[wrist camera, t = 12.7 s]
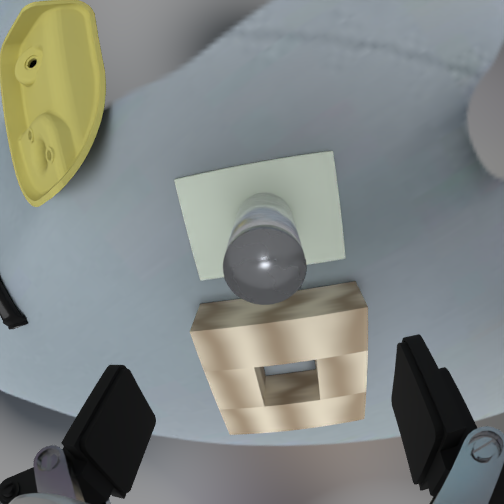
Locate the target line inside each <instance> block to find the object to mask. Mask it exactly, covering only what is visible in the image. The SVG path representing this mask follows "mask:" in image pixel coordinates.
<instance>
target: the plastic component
mask: <svg viewBox="0 0 504 504" xmlns="http://www.w3.org/2000/svg"><path fill="white" fill-rule="evenodd" d="M33 60H37V63H36V65H35V66H34V67H33V68H30V64H31V62H32V61H33ZM0 85H1V95H2V103H3V111H4V118H5V125H6V131H7V136H8V142H9V147H10V152H11V157H12V161H13V165H14V169H15V173H16V177H17V180H18V183H19V186H20V188H21V191H22V193H23V195H24V196H25V198H26V200H27V201H28V202H29V203H30V204H31V205H32V206H34V207H39V206H41V205H42V204H44V203H45V202H46V201H48V200H49V199H51V198H52V197H53V196H55V195H56V194H57V193H58V192H59V191H60V190H61V189H62V188H63V187H64V186H65V185H66V184H67V183H68V182H69V181H70V179H71V178H72V177H73V176H74V174H75V173H76V172H77V170H78V169H79V168H80V166H81V165H82V163H83V161H84V160H85V158H86V156H87V154H88V152H89V150H90V148H91V146H92V144H93V142H94V139H95V137H96V135H97V132H98V129H99V126H100V123H101V119H102V115H103V110H104V105H105V95H106V79H105V70H104V64H103V59H102V54H101V48H100V43H99V37H98V31H97V25H96V20H95V13H94V12H93V10H92V8H91V7H90V6H89V5H87V4H86V3H84V2H82V1H79V0H51V1H39V2H33V3H30V4H28V5H26V6H25V7H24V8H23V9H22V10H21V12H20V13H19V15H18V17H17V18H16V20H15V22H14V24H13V25H12V27H11V29H10V31H9V32H8V34H7V36H6V38H5V40H4V42H3V45H2V48H1V52H0Z"/></svg>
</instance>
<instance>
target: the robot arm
mask: <svg viewBox="0 0 504 504" xmlns="http://www.w3.org/2000/svg"><path fill="white" fill-rule="evenodd" d="M392 407H393V410H394V414H395V417H396V420H397V424H398V427H399V431H400V434H401V438H402V441H403V445H404V449H405V452H406V456H407V460H408V464H409V468H410V472H411V476H412V480H413V483H414V484H419V486H420V490H425V489H428V488H429V491H430V495H432V496H433V498H432V500H431V502H430V504H504V433H502V432H501V431H500V430H499V429H496V428H494V427H488V426H485V427H479V428H477V426H476V425H475V422H474V420H473V418H472V416H471V414H470V412H469V410H468V408H467V405H466V403H465V401H464V399H463V397H462V395H461V394H460V392H459V390H458V388H457V386H456V384H455V382H454V380H453V378H452V376H451V374H450V372H449V371H448V370H447V369H446V368H445V367H444V368H440V369H439V368H438V366H437V365H436V363H435V361H434V359H433V357H432V355H431V353H430V351H429V349H428V348H427V346H426V344H425V342H424V340H423V338H422V337H421V335H419V334H418V335H414V336H409V337H404V338H403V340H402V343H398V345H397V354H396V364H395V374H394V382H393V390H392ZM155 424H156V418H155V415H154V413H153V411H152V410H151V408H150V406H149V404H148V403H147V401H146V399H145V397H144V396H143V394H142V392H141V390H140V388H139V386H138V385H137V383H136V381H135V379H134V377H133V375H132V373H131V371H130V370H129V369H127V368H126V367H125V366H124V365H109V366H108V367H107V368H106V370H105V372H104V373H103V375H102V376H101V378H100V379H99V381H98V383H97V384H96V386H95V387H94V389H93V391H92V392H91V394H90V396H89V397H88V399H87V400H86V402H85V404H84V405H83V407H82V409H81V410H80V412H79V414H78V415H77V417H76V419H75V421H74V422H73V424H72V425H71V427H70V429H69V431H68V432H67V434H66V436H65V438H64V439H63V441H62V444H63V445H64V448H63V449H61V448H60V447H58V446H56V445H51V446H46V447H44V448H42V449H41V450H40V451H39V452H38V453H37V454H36V456H35V458H34V467H33V468H31V469H28V470H26V471H24V472H21V473H19V474H17V475H14V476H12V477H9V478H7V479H5V480H4V481H3V482H2V483H1V484H0V504H111V502H110V500H109V497H110V495H112V496H115V497H119V498H123V499H124V498H125V496H126V493H128V492H129V491H130V490H131V488H132V485H133V482H134V480H135V477H136V474H137V471H138V469H139V466H140V463H141V461H142V458H143V455H144V453H145V450H146V448H147V445H148V442H149V440H150V437H151V434H152V432H153V429H154V427H155Z"/></svg>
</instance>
